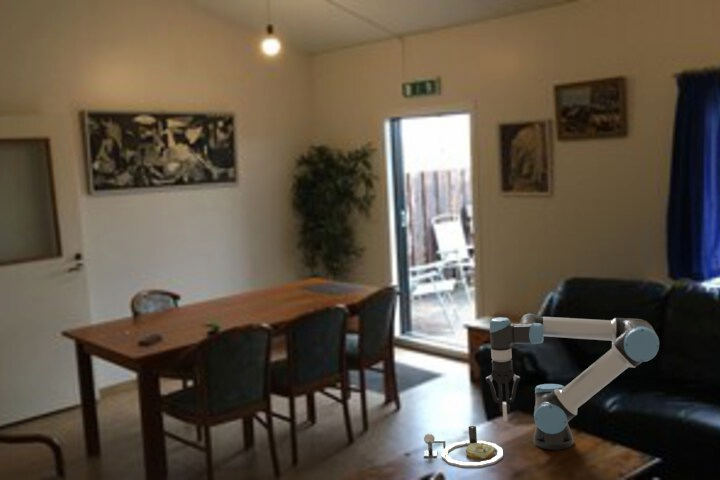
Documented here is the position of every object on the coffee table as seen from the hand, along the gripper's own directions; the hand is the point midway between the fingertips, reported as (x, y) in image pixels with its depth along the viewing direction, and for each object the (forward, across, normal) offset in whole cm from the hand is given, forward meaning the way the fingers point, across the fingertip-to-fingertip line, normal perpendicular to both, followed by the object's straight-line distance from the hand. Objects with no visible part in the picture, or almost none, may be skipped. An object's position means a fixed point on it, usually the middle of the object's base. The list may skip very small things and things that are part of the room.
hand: (505, 419), depth 278 cm
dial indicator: (+14, +27, 0) cm, 31 cm away
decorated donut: (+14, +10, 0) cm, 18 cm away
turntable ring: (+14, +13, 0) cm, 19 cm away
